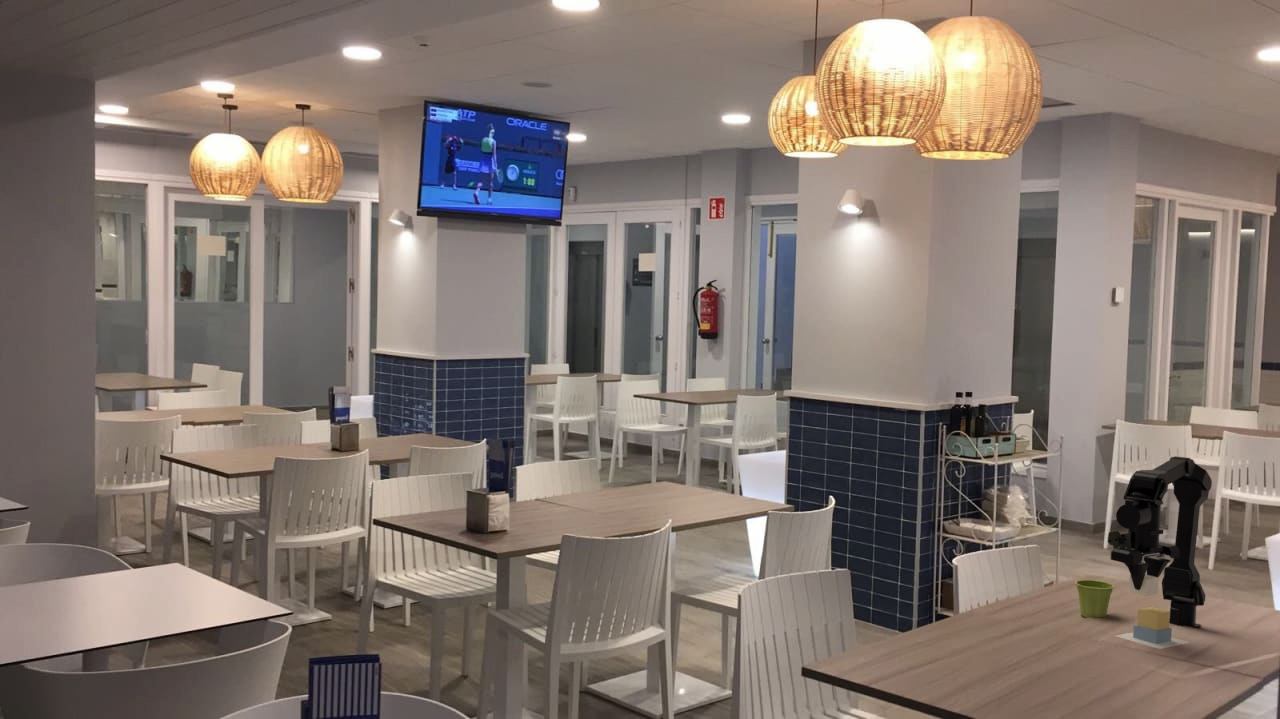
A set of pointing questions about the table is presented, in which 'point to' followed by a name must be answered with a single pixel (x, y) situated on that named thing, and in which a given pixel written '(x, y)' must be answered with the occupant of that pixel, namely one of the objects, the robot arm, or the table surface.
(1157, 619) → the brick ochre
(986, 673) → the table surface
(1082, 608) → the plant pot
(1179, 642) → the build plate
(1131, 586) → the brick cream
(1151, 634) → the base brick
